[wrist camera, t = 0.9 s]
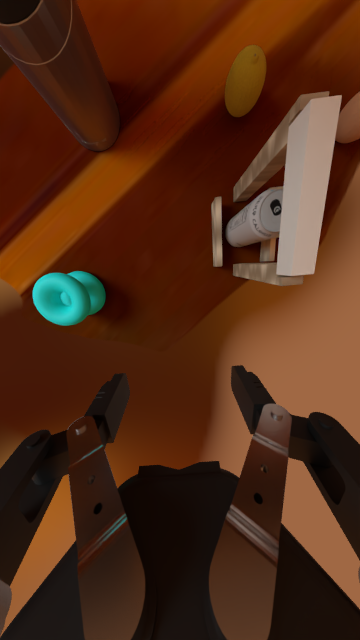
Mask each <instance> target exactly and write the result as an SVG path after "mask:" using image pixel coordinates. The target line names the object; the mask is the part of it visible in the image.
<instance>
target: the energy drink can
mask: <svg viewBox="0 0 360 640" xmlns="http://www.w3.org/2000/svg"><path fill="white" fill-rule="evenodd" d="M282 200H283V189H269V190H266V191H265V192H263V193H261V194H260V195H259V196H258V197H257V198H255V199H254V200H253V201H252V202H251V203H250V204H248V205H247V206H246V207H245V208H244V209H242V210H241V211H240V212H239V213H238V214H237V215H235V216H234V217H233V218H232V219H231V220H230V221H229V222H228V224H227V226H226V230H225V236H226V239H227V241H228V243H229V244H230V245H232V246H234V247H242V246H246V245H249V244H253V243H257V242H260V241H264V240H268V239H271V238H275V237H277V236H279V235H280V224H281V212H282Z"/></svg>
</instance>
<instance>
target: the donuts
mask: <svg viewBox="0 0 360 640" xmlns="http://www.w3.org/2000/svg"><path fill="white" fill-rule="evenodd" d="M33 300H34V304H35V306H36V308H37V309H38V311H39V312H40V313H41V314H42V316H44V317H45V318H46V319H47V320H49V321H51V322H53V323H55V324H58V325H64V326H69V325H75V324H77V323H79V322H81V321H83V320H84V319H85V318H86V316H87V315H91V314H94V313H96V312H98V311H99V310H100V309H101V308H102V307H103V305H104V303H105V300H106V293H105V289H104V287H103V285H102V283H101V282H100V281H99V280H98V279H97V278H96V277H95V276H93V275H92V274H90V273H87V272H83V271H75V272H71V273H69V274H63V273H50V274H47V275H45V276H43V277H41V278H40V279H39V280H38V281H37V282H36V284H35V286H34V289H33Z"/></svg>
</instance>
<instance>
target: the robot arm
mask: <svg viewBox="0 0 360 640" xmlns="http://www.w3.org/2000/svg"><path fill="white" fill-rule="evenodd" d="M0 46H1V47H2V48H3V50H5V52H6V53H7V54H8V56H9V57H10V58H11V59H12V61H13V62H14V63H15V64H16V65H17V67H18V68H19V69H20V70H21V72H22V73H23V74H24V75H25V76H26V78H27V79H28V80H29V81H30V83H31V84H32V85H33V86H34V88H35V89H36V90H37V91H38V92H39V94H40V95H41V96H42V97H43V99H44V100H45V101H46V102H47V103H48V105H49V106H50V107H51V108H52V110H53V111H54V112H55V113H56V115H57V116H58V117H59V118H60V119H61V121H62V122H63V123H64V124H65V126H66V127H67V128H68V129H69V130H70V132H71V133H72V134H73V135H74V137H75V138H76V139H77V140H78V141H79V143H81V144H82V145H83V146H84V147H86V148H88V149H89V150H93V151H103V150H106V149H108V148H109V147H111V146H112V144H113V143H114V142H115V140H116V139H117V136H118V133H119V128H120V116H119V110H118V107H117V104H116V102H115V99H114V97H113V94H112V91H111V89H110V86H109V83H108V81H107V78H106V76H105V73H104V70H103V68H102V65H101V63H100V60H99V58H98V55H97V52H96V50H95V47H94V45H93V42H92V39H91V37H90V34H89V32H88V29H87V27H86V24H85V21H84V19H83V16H82V14H81V11H80V9H79V6H78V3H77V1H76V0H0ZM231 387H232V391H233V394H234V396H235V398H236V400H237V403H238V405H239V408H240V410H241V412H242V415H243V417H244V419H245V422H246V424H247V426H248V429H249V431H250V434H254V435H253V437H252V440H251V443H250V446H249V450H248V453H247V456H246V459H245V462H244V465H243V469H242V472H241V475H240V478H239V477H237V476H236V475H234V474H233V473H231V472H229V471H227V470H224V469H221V468H220V465H219V461H212V462H199V463H196V464H193V465H191V466H188V467H186V468H183V469H180V470H177V469H173V468H169V467H165V466H161V465H149V466H139V471H138V474H137V475H135V476H133V477H131V478H130V479H128V480H126V481H125V482H124V483H123V484H122V485H121V486H119V488H118V489H117V486H116V483H115V480H114V477H113V474H112V471H111V468H110V465H109V462H108V459H107V456H106V454H105V450H104V449H105V446H106V444H107V443H113V442H114V439H115V436H116V433H117V431H118V428H119V425H120V422H121V419H122V417H123V414H124V411H125V408H126V405H127V402H128V399H129V395H130V390H129V385H128V380H127V376H126V374H125V373H122V374H115V375H114V376H113V378H112V380H111V381H107V382H106V383H105V384H104V385H103V386H102V387H101V389H100V390H99V392H98V394H97V395H96V397H95V399H94V400H93V402H92V404H91V405H90V407H89V409H88V410H87V412H86V414H85V415H84V417H81V418H79V419H77V420H76V421H75V422H73V423H72V424H71V425H70V427H69V428H68V430H65V431H63V432H60V433H57V434H54V435H51V434H50V432H49V431H48V430H40V431H37V432H35V433H33V434H31V435H30V436H29V437H27V438H26V439H25V440H24V441H23V442H22V443H21V444H20V445H19V446H18V448H17V449H16V450H15V451H14V452H13V454H12V455H11V456H10V457H9V459H8V460H7V461H6V462H5V464H4V465H3V466H2V467H1V469H0V635H1V633H2V630H3V628H4V624H5V619H6V616H7V614H8V611H9V608H10V604H11V598H12V592H11V588H10V585H11V583H12V581H13V579H14V576H15V574H16V572H17V570H18V568H19V566H20V564H21V562H22V560H23V558H24V556H25V554H26V552H27V550H28V548H29V545H30V543H31V541H32V539H33V537H34V535H35V532H36V531H37V529H38V527H39V525H40V523H41V521H42V518H43V517H44V514H45V512H46V510H47V508H48V506H49V504H50V502H51V500H52V498H53V496H54V494H55V492H56V490H57V488H58V485H59V483H60V481H61V479H62V477H63V476H64V475H67V474H69V482H70V491H71V500H72V508H73V516H74V525H75V534H76V541H75V542H74V544H73V545H72V546H71V547H70V549H69V550H68V551H67V553H66V554H65V555H64V556H63V557H62V559H61V560H60V561H59V563H58V564H57V565H56V566H55V568H54V569H53V570H52V571H51V573H50V574H49V575H48V576H47V578H46V579H45V580H44V581H43V583H42V584H41V585H40V586H39V588H38V589H37V590H36V592H35V593H34V594H33V595H32V597H31V598H30V599H29V600H28V602H27V603H26V604H25V605H24V607H23V608H22V609H21V610H20V612H19V613H18V614H17V615H16V617H15V618H14V619H13V621H12V622H11V623H10V625H9V626H8V627H7V629H6V630H5V631H4V633H3V634H2V636H1V637H0V640H360V609H359V608H358V607H357V606H356V604H355V603H354V602H353V601H352V600H351V599H350V598H349V597H348V596H347V595H346V593H345V592H344V591H343V590H342V589H341V588H340V587H339V586H338V585H337V584H336V583H335V582H334V580H333V579H332V578H331V577H330V576H329V575H328V574H327V573H326V572H325V571H324V569H323V568H322V567H321V566H320V565H319V564H318V563H317V562H316V561H315V559H313V557H312V556H311V555H310V554H309V553H308V552H307V551H306V550H305V549H304V547H303V546H302V545H301V544H300V543H299V542H298V541H297V540H296V539H295V537H293V535H292V534H291V533H290V532H289V531H288V530H287V529H286V528H285V526H284V525H283V524H282V523H281V519H282V510H283V501H284V492H285V483H286V474H287V464H288V457H289V458H293V459H296V460H300V461H303V462H304V464H305V466H306V467H307V469H308V471H309V472H310V474H311V476H312V478H313V480H314V481H315V483H316V485H317V487H318V488H319V490H320V492H321V494H322V495H323V497H324V499H325V501H326V502H327V504H328V506H329V508H330V509H331V511H332V513H333V515H334V516H335V518H336V520H337V522H338V523H339V525H340V527H341V528H342V530H343V532H344V534H345V535H346V537H347V539H348V541H349V542H350V544H351V546H352V548H353V549H354V551H355V553H356V554H357V556H358V558H359V560H360V444H358V442H357V441H356V440H355V439H354V438H353V437H352V436H351V435H350V434H349V433H348V432H347V430H346V429H344V427H343V426H342V425H341V424H340V423H339V422H338V421H337V420H335V419H334V418H332V417H331V416H329V415H326V414H324V413H320V412H313V413H311V414H310V415H309V418H304V417H299V416H294V415H291V414H290V413H289V412H288V411H287V410H286V409H285V408H283V407H282V406H279V405H277V404H276V403H275V401H274V400H273V399H272V397H271V396H270V394H269V393H268V391H267V390H266V388H265V387H264V386H263V384H262V383H261V381H260V380H259V378H258V377H257V376H256V375H255V374H253V373H252V372H247V371H246V370H245V368H244V367H243V366H242V365H241V366H232V373H231ZM358 576H359V582H360V567H359V571H358Z"/></svg>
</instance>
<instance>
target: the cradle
mask: <svg viewBox="0 0 360 640" xmlns="http://www.w3.org/2000/svg"><path fill="white" fill-rule="evenodd" d="M323 97H329V91H328V92H320V93H312V94H304V95H301V96H300V97H299V98H298V100H297V101H296V102H295V104H294V105H293V107H292V108H291V109H290V111H289V112H288V113H287V115H286V116H285V118H284V119H283V120H282V122H281V123H280V124H279V126H278V127H277V129H276V130H275V131H274V133H273V134H272V135H271V137H270V138H269V140H268V141H267V142H266V144H265V145H264V146H263V148H262V149H261V151H260V152H259V153H258V155H257V156H256V157H255V159H254V160H253V162H252V163H251V164H250V166H249V167H248V168H247V170H246V171H245V173H244V174H243V175H242V177H241V178H240V179H239V181H238V182H237V184H236V185H235V186H234V202H240V201H246V200H247V199H249V198H250V197H251V196H252V195H253V194H254V193H255V192H256V191H257V190H258V189H259V188H260V187H261V186H262V185H264V184H265V183H266V182H267V181H268V180H269V179H270V178H271V177H272V176H273V175H274V174H275V173H276V172H278V171H279V170H280V169H281V168H282V167H283V166H284V165H285V164H286V154H287V142H288V130H289V126H290V125H291V124H292V122H293V121H294V120H295V119H296V118H297V116H298V115H299V114H300V113H301V111H302V110H303V109H304V108H305V106H306V105H307V104H308V103H309V101H310V100H311V99H315V98H323ZM212 236H213V266H216V267H218V266H222V214H221V197H216V198H215V199H214V201H213V203H212ZM275 244H276V237H275V238H271V239H268V240H264V241H261V251H260V261H274V256H275ZM276 271H277V263H241V264H233V276H237V277H242V278H247V279H251V280H257V281H261V282H266V283H270V284H275V285H279V286H288V285H297V284H303V278H304V276H303V275H297V276H286V275H277V274H276Z"/></svg>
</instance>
